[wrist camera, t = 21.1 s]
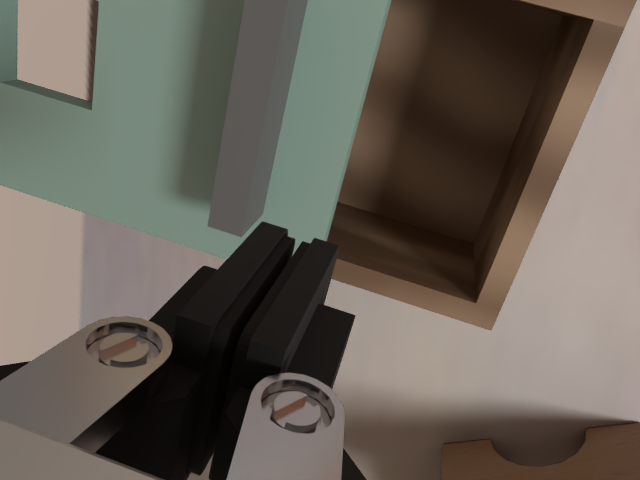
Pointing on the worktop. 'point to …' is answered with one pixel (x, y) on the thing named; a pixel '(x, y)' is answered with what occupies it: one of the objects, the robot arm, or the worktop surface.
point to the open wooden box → (466, 144)
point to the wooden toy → (568, 476)
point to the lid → (199, 117)
